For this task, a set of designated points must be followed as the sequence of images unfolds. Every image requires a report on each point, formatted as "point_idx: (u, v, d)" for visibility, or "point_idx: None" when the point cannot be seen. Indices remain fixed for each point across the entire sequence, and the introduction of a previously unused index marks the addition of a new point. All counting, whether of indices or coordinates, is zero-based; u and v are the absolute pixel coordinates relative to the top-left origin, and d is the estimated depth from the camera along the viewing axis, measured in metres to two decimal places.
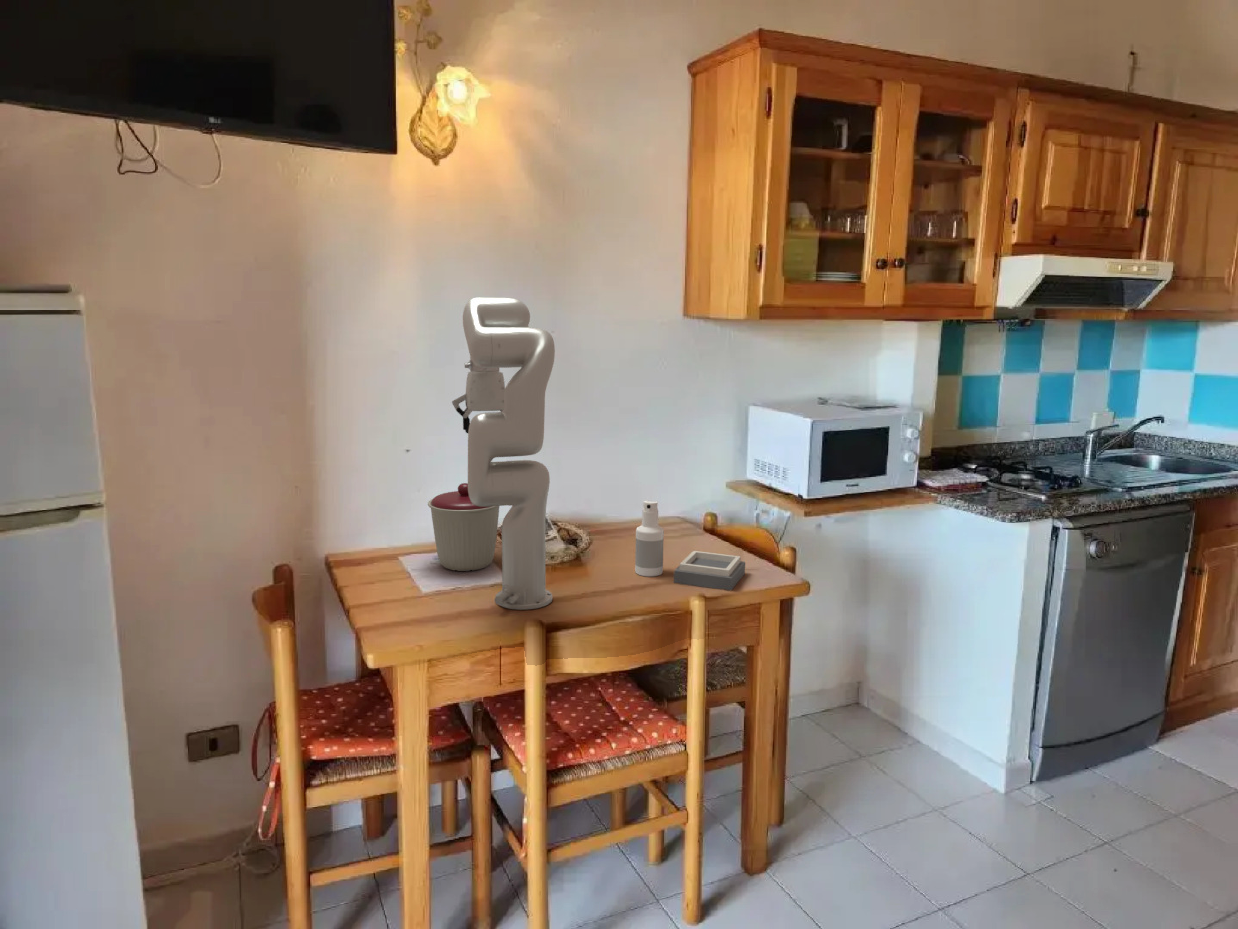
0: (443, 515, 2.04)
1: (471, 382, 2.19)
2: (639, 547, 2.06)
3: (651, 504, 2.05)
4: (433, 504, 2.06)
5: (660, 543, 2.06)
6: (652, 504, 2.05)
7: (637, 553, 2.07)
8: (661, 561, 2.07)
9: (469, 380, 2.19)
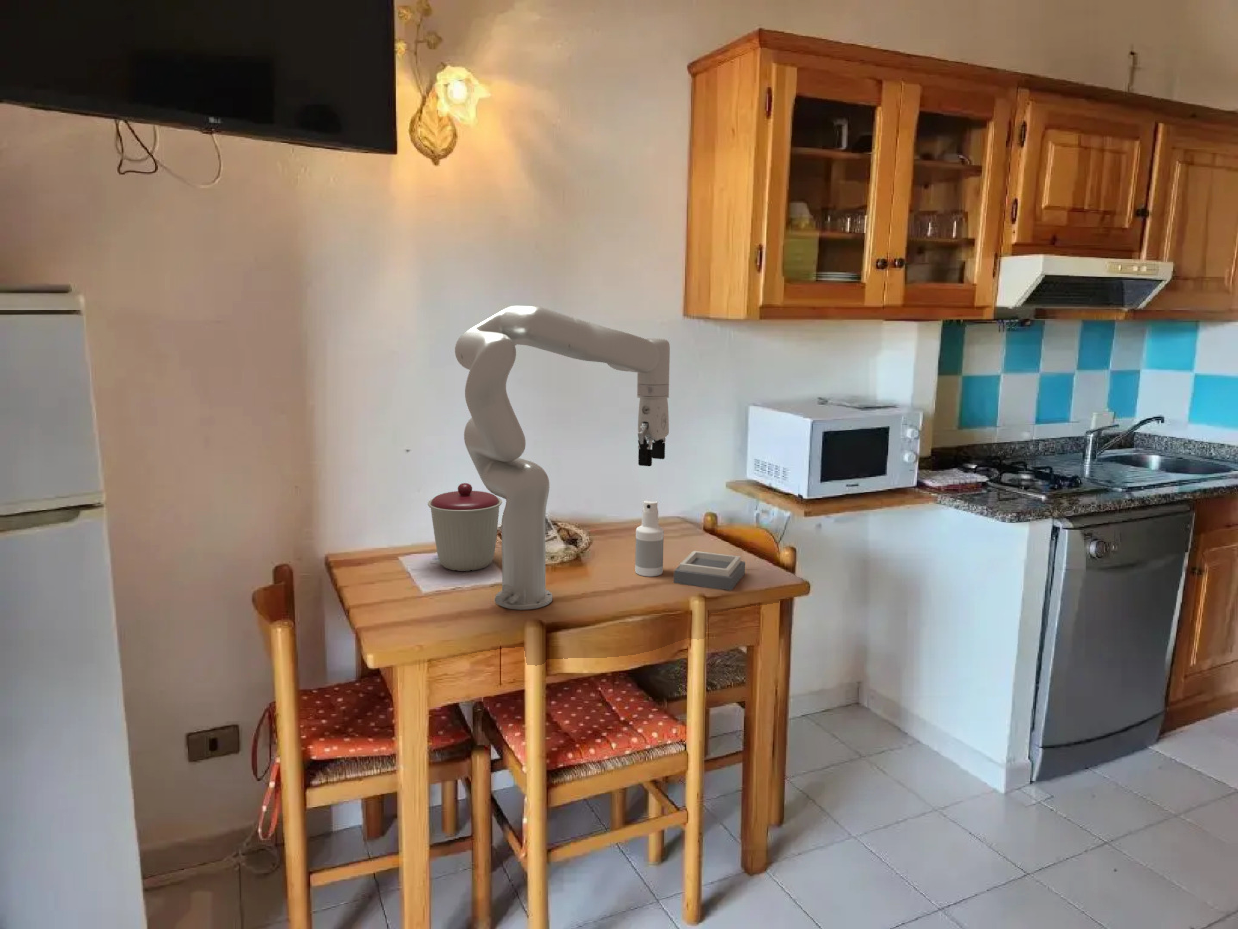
0: (442, 515, 2.04)
1: (657, 409, 1.98)
2: (639, 547, 2.06)
3: (651, 504, 2.05)
4: (433, 504, 2.06)
5: (660, 543, 2.06)
6: (652, 504, 2.05)
7: (637, 553, 2.07)
8: (661, 561, 2.07)
9: (655, 407, 1.97)
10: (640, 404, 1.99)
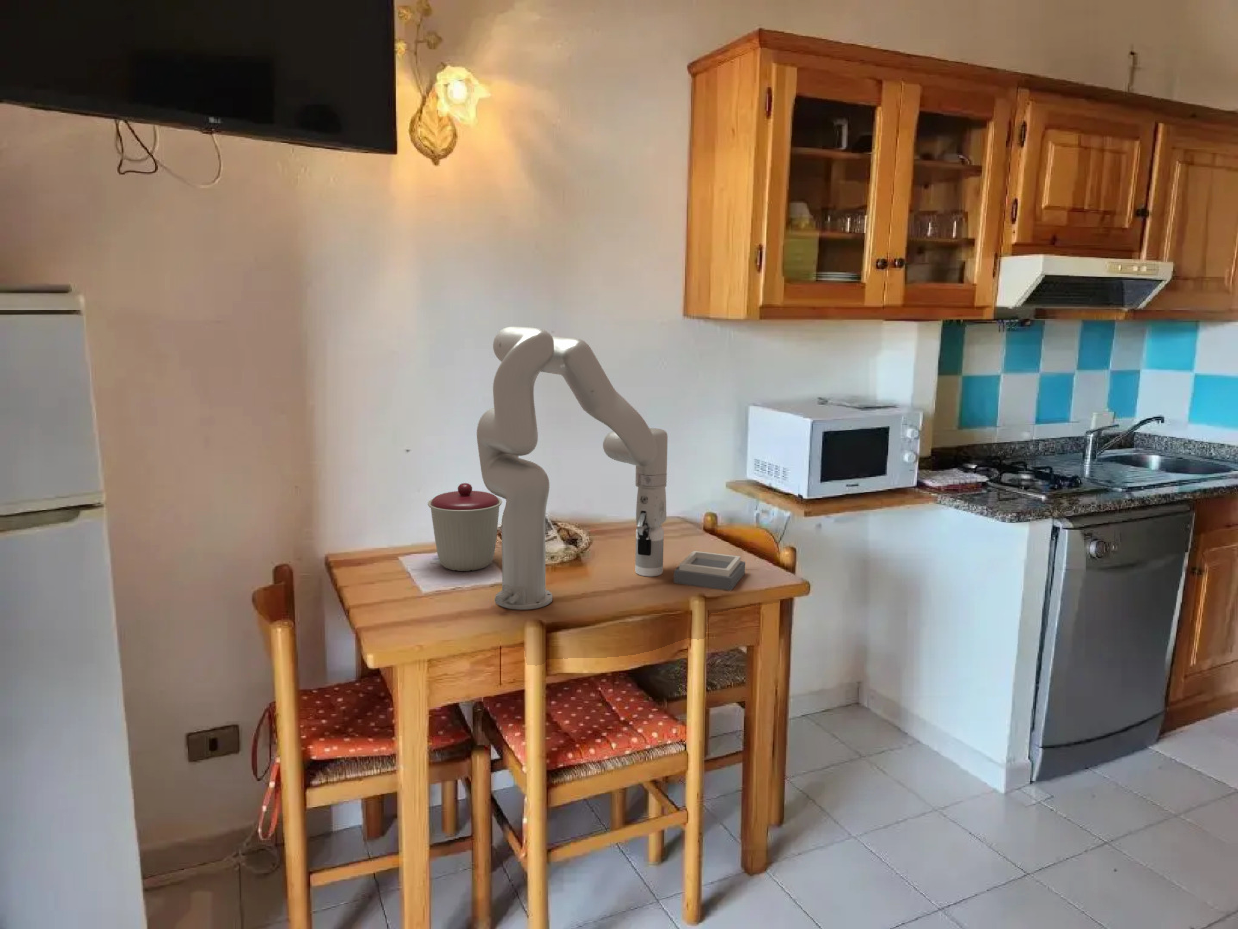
0: (443, 515, 2.04)
1: (655, 499, 2.02)
2: None
3: None
4: (433, 504, 2.06)
5: (660, 543, 2.06)
6: None
7: (637, 553, 2.07)
8: (661, 561, 2.07)
9: (652, 497, 2.01)
10: (638, 493, 2.03)
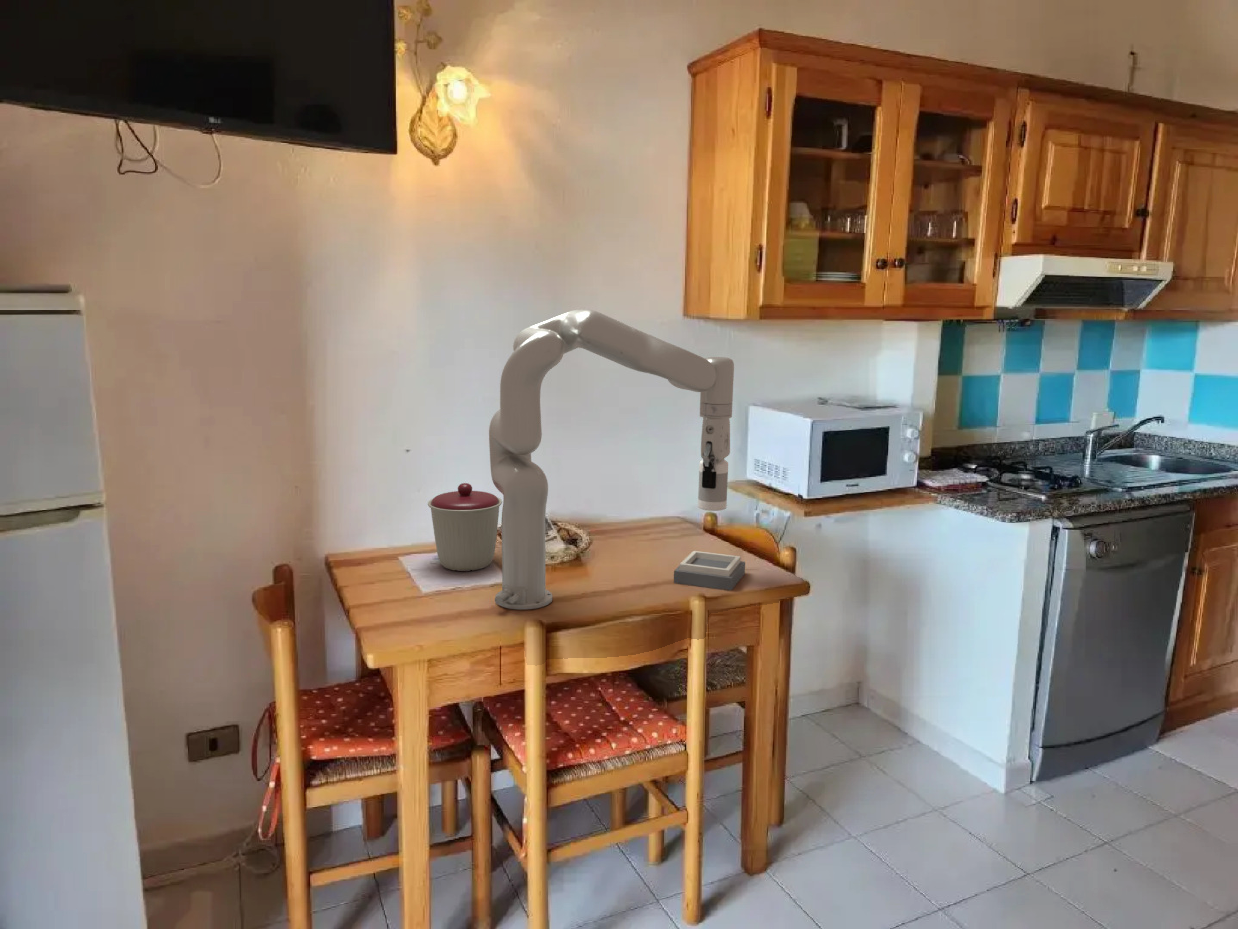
0: (442, 515, 2.04)
1: (721, 429, 1.95)
2: None
3: None
4: (433, 504, 2.06)
5: (725, 476, 1.99)
6: None
7: (701, 487, 2.00)
8: (725, 495, 2.01)
9: (719, 427, 1.95)
10: (704, 424, 1.96)
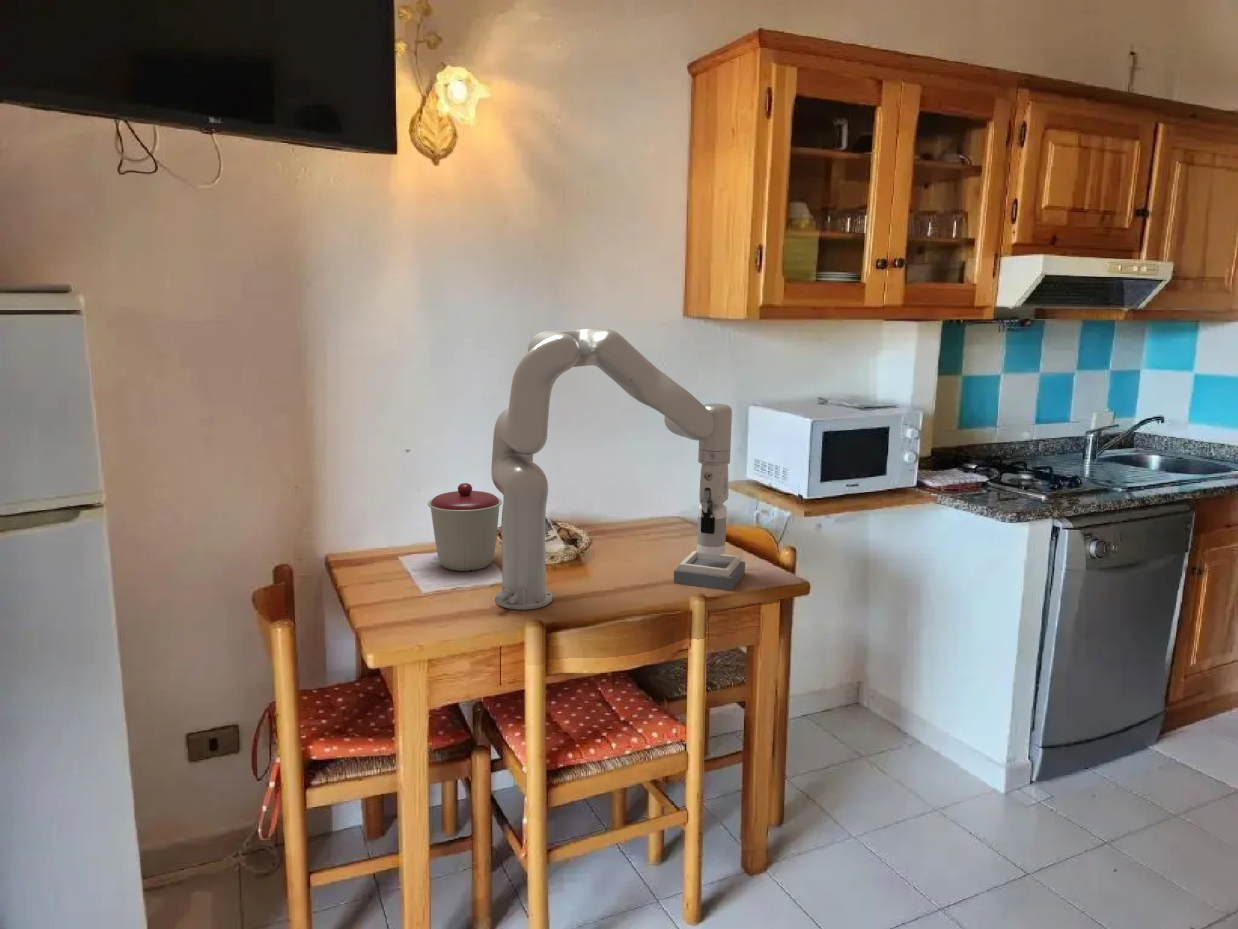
0: (442, 515, 2.04)
1: (719, 475, 1.97)
2: None
3: None
4: (433, 504, 2.06)
5: (723, 521, 2.02)
6: None
7: (700, 531, 2.03)
8: (724, 539, 2.03)
9: (717, 473, 1.97)
10: (702, 470, 1.98)
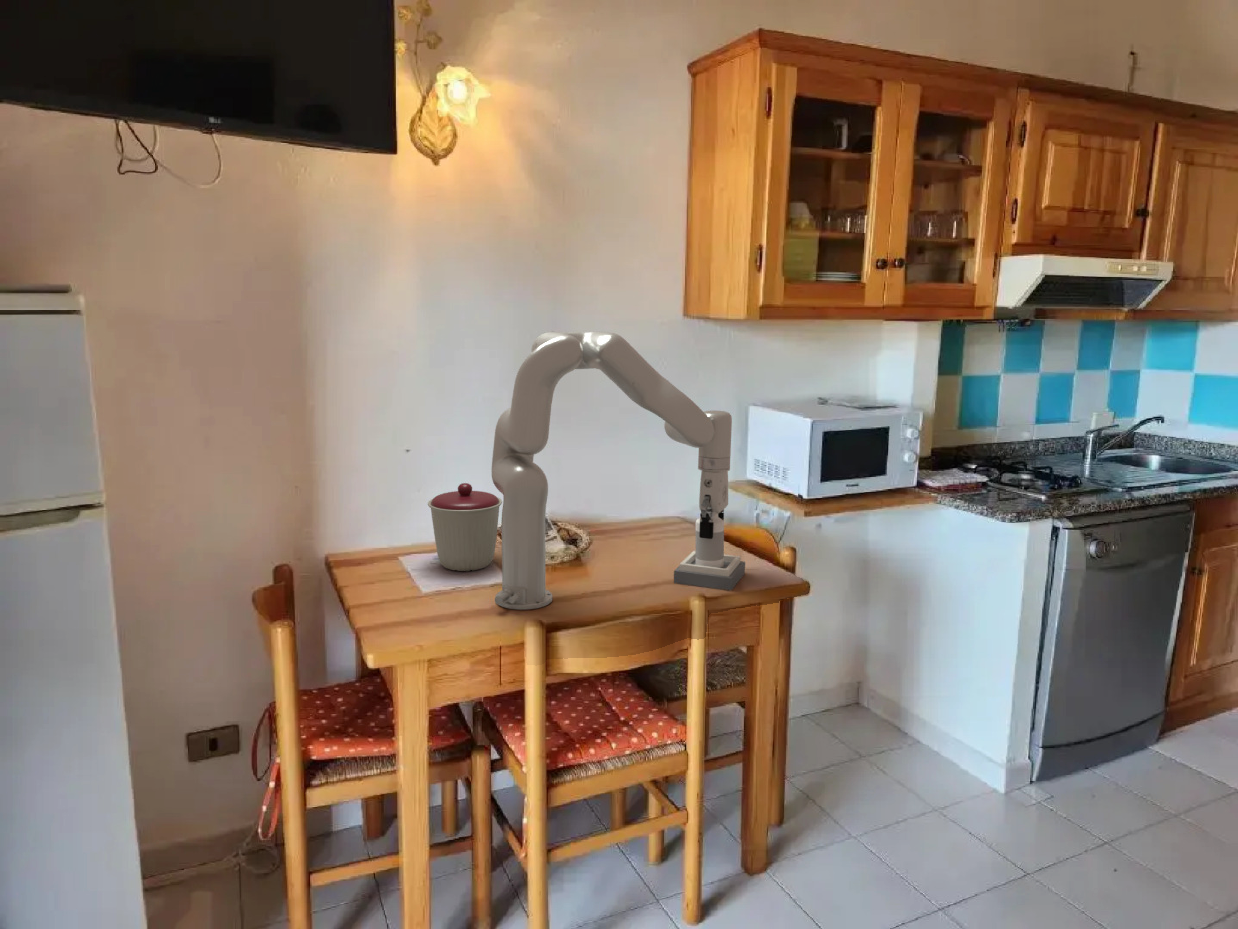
0: (443, 515, 2.04)
1: (719, 482, 1.97)
2: (700, 540, 2.02)
3: None
4: (433, 504, 2.06)
5: (721, 535, 2.02)
6: None
7: (698, 546, 2.03)
8: (722, 553, 2.03)
9: (717, 480, 1.97)
10: (702, 477, 1.98)
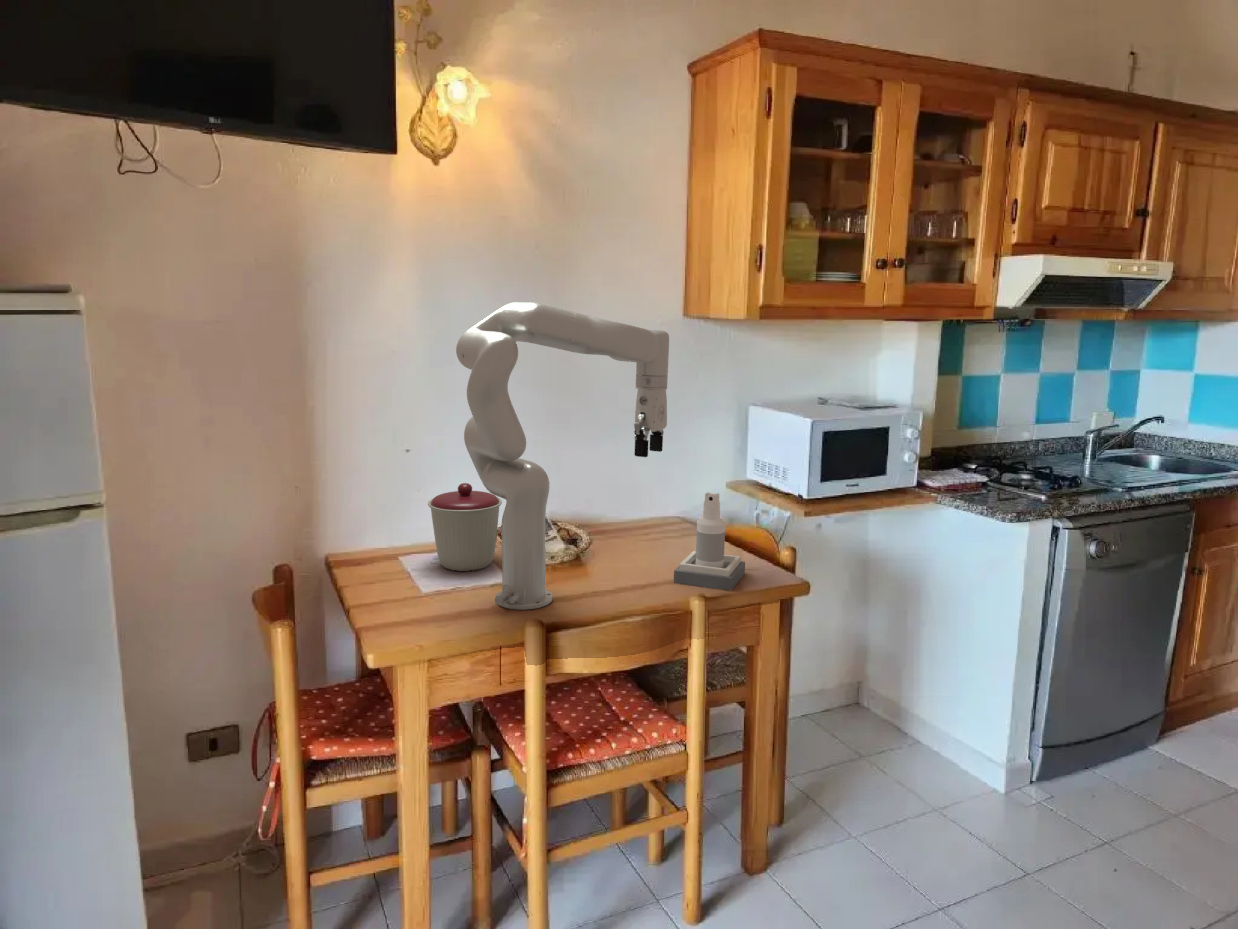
0: (442, 515, 2.04)
1: (654, 400, 1.98)
2: (701, 540, 2.02)
3: (713, 496, 2.01)
4: (433, 504, 2.06)
5: (722, 536, 2.02)
6: (714, 496, 2.01)
7: (698, 546, 2.03)
8: (722, 554, 2.03)
9: (652, 398, 1.97)
10: (638, 395, 1.99)
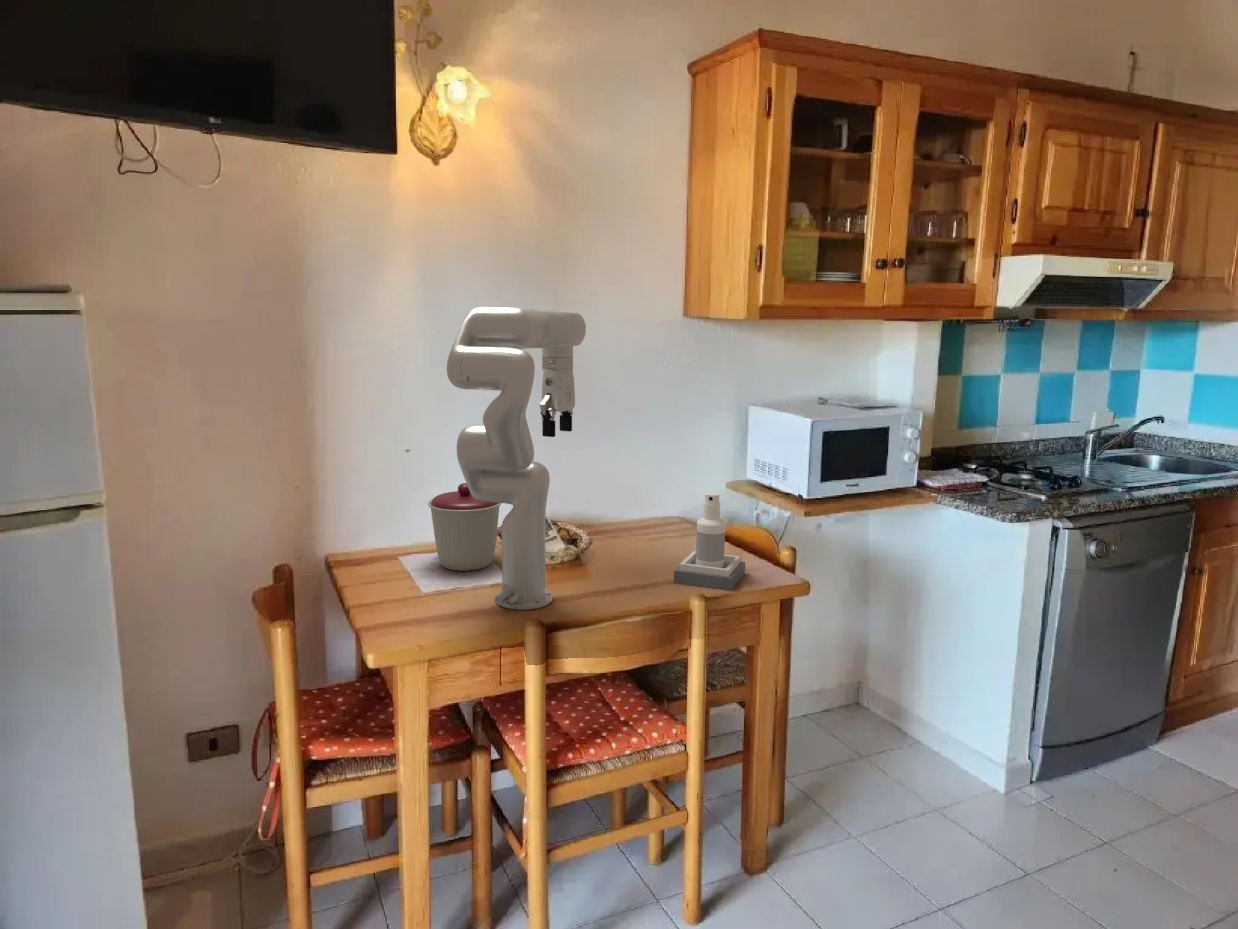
0: (443, 515, 2.04)
1: (559, 381, 2.03)
2: (701, 540, 2.02)
3: (713, 496, 2.01)
4: (433, 504, 2.06)
5: (722, 536, 2.02)
6: (714, 496, 2.01)
7: (698, 546, 2.03)
8: (722, 554, 2.03)
9: (557, 379, 2.03)
10: (543, 376, 2.04)
